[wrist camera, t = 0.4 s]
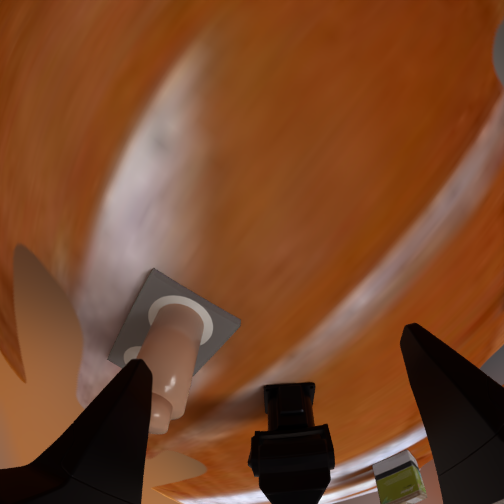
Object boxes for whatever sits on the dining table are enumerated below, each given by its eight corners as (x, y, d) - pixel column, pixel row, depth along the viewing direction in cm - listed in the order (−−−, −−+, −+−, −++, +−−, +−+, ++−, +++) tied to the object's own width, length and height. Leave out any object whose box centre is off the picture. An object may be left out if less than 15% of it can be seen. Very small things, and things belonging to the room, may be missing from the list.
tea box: (416, 458, 50) (428, 498, 37) (385, 472, 53) (393, 512, 39) (408, 448, 45) (421, 496, 32) (370, 464, 48) (380, 512, 34)
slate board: (154, 268, 25) (150, 273, 24) (240, 319, 28) (240, 326, 27) (109, 354, 31) (107, 359, 30) (175, 389, 33) (173, 395, 32)
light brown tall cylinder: (207, 341, 28) (187, 442, 17) (163, 340, 28) (129, 433, 17) (199, 303, 26) (168, 409, 15) (151, 303, 26) (103, 399, 15)
